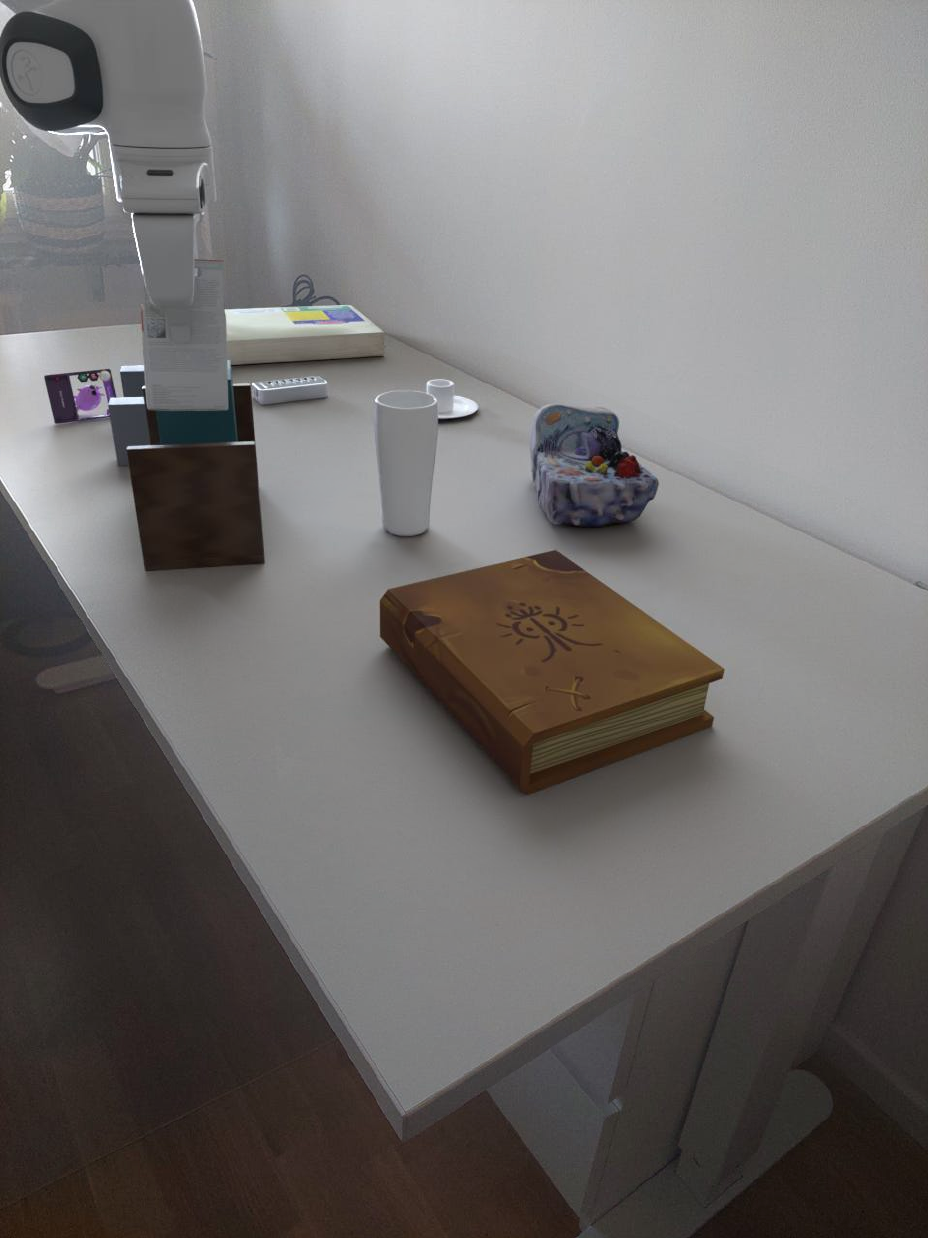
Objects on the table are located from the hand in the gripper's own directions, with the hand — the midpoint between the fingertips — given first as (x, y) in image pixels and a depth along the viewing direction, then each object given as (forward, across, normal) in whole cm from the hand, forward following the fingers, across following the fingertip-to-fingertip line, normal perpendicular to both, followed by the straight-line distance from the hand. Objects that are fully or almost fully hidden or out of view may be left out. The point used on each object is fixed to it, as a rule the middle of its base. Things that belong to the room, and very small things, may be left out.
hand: (183, 335), depth 92 cm
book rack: (+22, -3, 0) cm, 22 cm away
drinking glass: (+22, +1, +22) cm, 31 cm away
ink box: (+7, 0, 0) cm, 7 cm away
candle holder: (+22, -41, +34) cm, 58 cm away
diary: (+22, +34, +28) cm, 49 cm away
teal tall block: (+21, -8, 0) cm, 22 cm away
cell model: (+22, -3, +44) cm, 49 cm away
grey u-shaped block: (+22, -32, -8) cm, 39 cm away
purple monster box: (+22, -44, -18) cm, 52 cm away
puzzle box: (+22, -82, +11) cm, 86 cm away
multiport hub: (+22, -50, +12) cm, 56 cm away
